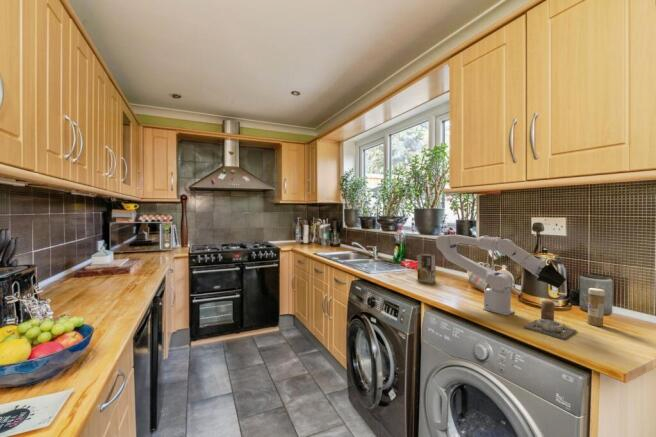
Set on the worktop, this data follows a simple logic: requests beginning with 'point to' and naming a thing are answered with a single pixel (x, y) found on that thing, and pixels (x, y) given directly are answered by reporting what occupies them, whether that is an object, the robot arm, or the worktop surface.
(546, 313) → the walnut peg
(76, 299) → the worktop surface
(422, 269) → the coffee box
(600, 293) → the sprinkles bottle
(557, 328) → the cup bracket
